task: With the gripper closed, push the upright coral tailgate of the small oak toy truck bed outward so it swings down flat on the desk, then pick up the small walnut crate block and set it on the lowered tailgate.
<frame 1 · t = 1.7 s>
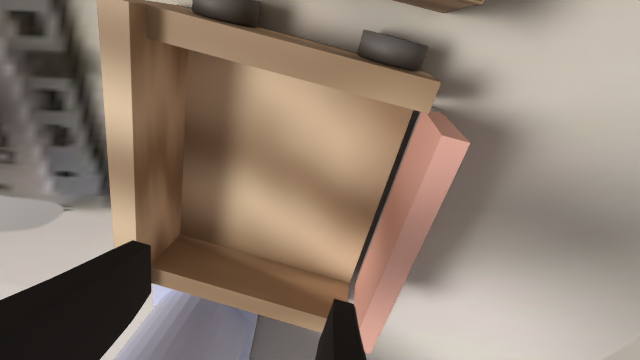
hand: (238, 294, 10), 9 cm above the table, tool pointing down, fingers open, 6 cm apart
truck bed: (288, 172, 19), on the table
tailgate: (395, 229, 16), point 3 cm above the table, hinge at 0.0°
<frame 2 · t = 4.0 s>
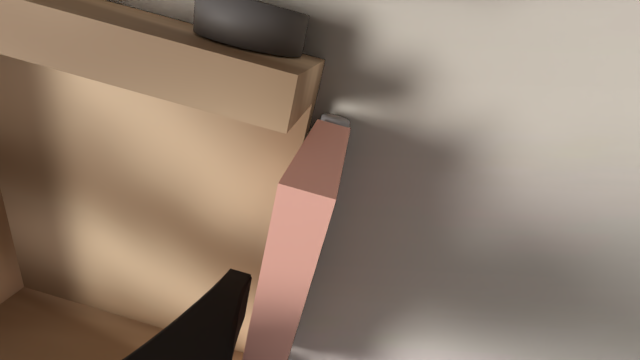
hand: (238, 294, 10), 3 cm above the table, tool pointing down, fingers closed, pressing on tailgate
truck bed: (155, 207, 13), on the table
tailgate: (284, 305, 10), point 3 cm above the table, hinge at 0.2°, touching gripper
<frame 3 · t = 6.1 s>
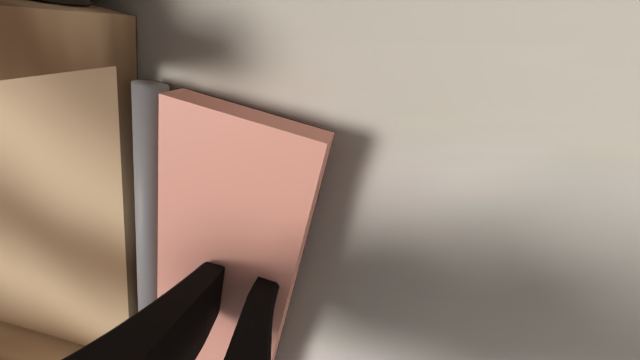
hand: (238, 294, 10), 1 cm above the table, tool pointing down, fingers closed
truck bed: (0, 194, 12), on the table
tailgate: (212, 272, 11), point 1 cm above the table, hinge at 85.9°, touching gripper
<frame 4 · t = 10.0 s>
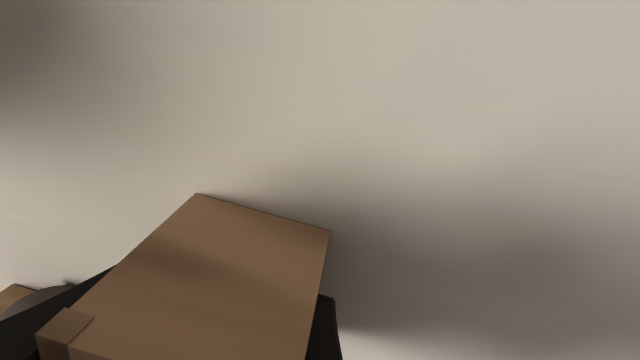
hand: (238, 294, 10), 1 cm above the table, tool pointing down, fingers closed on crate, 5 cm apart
crate: (253, 265, 11), on the table, touching gripper
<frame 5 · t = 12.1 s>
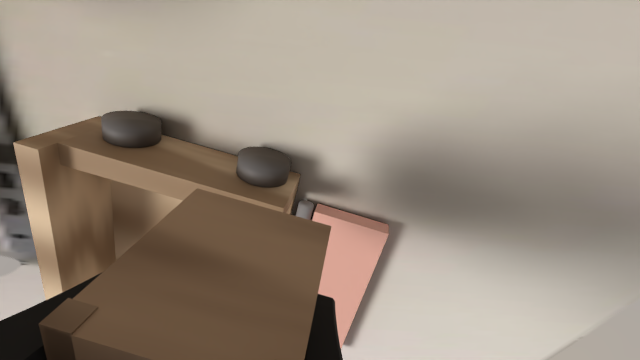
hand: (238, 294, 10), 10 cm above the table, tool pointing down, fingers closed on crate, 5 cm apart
truck bed: (203, 244, 22), on the table
tailgate: (320, 285, 21), point 1 cm above the table, hinge at 88.6°
crate: (254, 260, 11), point 8 cm above the table, touching gripper
when the fingers open (4 cm above the table, at t = 14.3 s): crate drops 1 cm, resting on tailgate.
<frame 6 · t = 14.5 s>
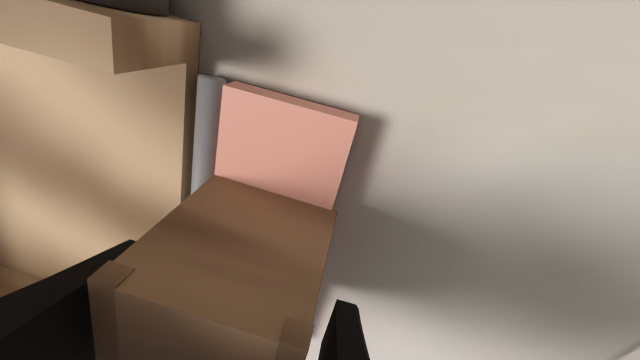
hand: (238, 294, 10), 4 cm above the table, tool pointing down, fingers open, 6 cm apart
truck bed: (70, 172, 14), on the table
tailgate: (254, 235, 13), point 1 cm above the table, hinge at 88.9°, touching crate
crate: (264, 243, 12), point 1 cm above the table, touching tailgate
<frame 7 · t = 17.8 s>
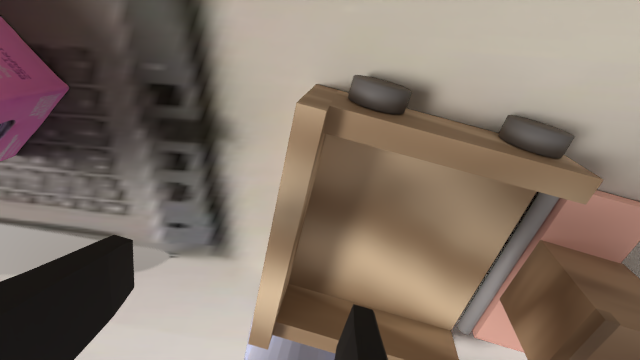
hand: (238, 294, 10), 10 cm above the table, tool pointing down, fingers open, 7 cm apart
truck bed: (402, 230, 20), on the table
tailgate: (542, 275, 19), point 1 cm above the table, hinge at 89.2°, touching crate
crate: (557, 282, 18), point 1 cm above the table, touching tailgate
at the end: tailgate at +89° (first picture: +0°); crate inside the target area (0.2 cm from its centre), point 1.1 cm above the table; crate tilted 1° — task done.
